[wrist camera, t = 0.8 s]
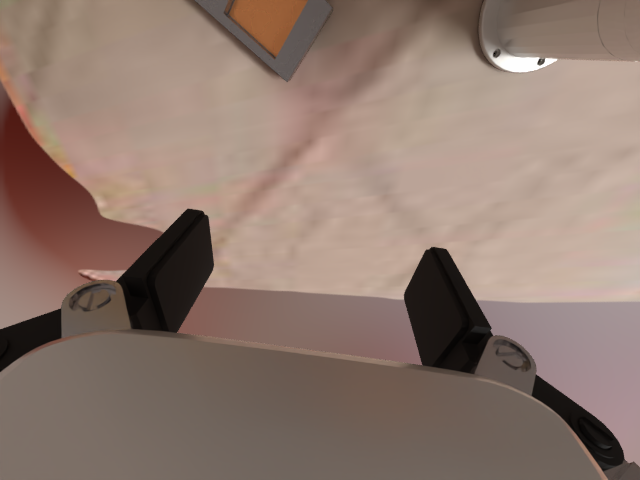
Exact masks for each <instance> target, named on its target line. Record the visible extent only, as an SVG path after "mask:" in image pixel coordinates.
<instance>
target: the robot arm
mask: <svg viewBox="0 0 640 480" xmlns="http://www.w3.org/2000/svg"><path fill="white" fill-rule="evenodd" d="M478 33H479V40H480V45H481V48H482V51H483V54H484V55H485V57H486V58H487V60H488V61H489V62H490V63H491V64H492V65H493V66H494V67H496V68H498V69H500V70H502V71H506V72H511V73H526V72H532V71H535V70H538V69H541V68H544V67H546V66H548V65H549V64H551V63H553V62H555V61H557V60H558V59H572V60H601V61H631V62H637V61H639V62H640V0H484V1H483V4H482V8H481V13H480V18H479V32H478ZM494 51H495V55H494V56H493V52H494ZM538 60H539V61H538ZM537 61H538V63H537ZM213 267H214V261H213V252H212V243H211V235H210V226H209V218H208V216H207V215H205V214H204V212H203V211H200V210H194V209H187V210H186V211H185V212H184V213H183V214H182V215H181V216H180V217H179V218H178V219H177V220H176V221H175V222H174V223H173V224H172V225H171V226H170V227H169V228H168V229H167V230H166V231H165V232H164V233H163V234H162V235H161V236H160V237H159V238H158V239H157V240H156V241H155V242H154V243H153V244H152V245H151V246H150V247H149V248H148V249H147V250H146V251H145V252H144V253H143V254H142V255H141V256H140V257H139V258H138V259H137V260H136V262H135V263H134V264H133V265H132V266H131V267H130V268H129V269H128V270H127V271H126V272H125V273H124V274H123V275H122V276H121V277H120V278H119V279H118V280H117V281H116V282H115V281H111V280H98V281H92V282H89V283H86V284H83V285H81V286H79V287H77V288H76V289H74V290H73V291H72V292H70V293H69V294H68V295H67V296H66V297H65V298H64V300H63V302H62V306H61V309H58V310H55V311H53V312H50V313H47V314H44V315H41V316H38V317H35V318H32V319H29V320H26V321H23V322H21V323H18V324H15V325H12V326H9V327H6V328H3V329H0V480H640V467H639V466H638V465H637V464H636V463H635V462H631V463H627V461H626V460H625V459H624V454H623V450H622V448H621V446H620V444H619V442H618V440H617V439H616V438H615V436H614V435H613V433H612V432H611V431H610V430H609V429H608V428H607V427H606V426H605V425H604V424H603V423H602V422H601V421H599V420H598V419H597V418H596V417H595V416H593V415H592V414H590V413H589V412H587V411H586V410H585V409H583V408H582V407H581V406H579V405H578V404H577V403H575V402H574V401H572V400H571V399H570V398H568V397H567V396H565V395H564V394H563V393H561V392H560V391H558V390H557V389H555V388H554V387H553V386H551V385H550V384H549V383H547V382H546V381H544V380H543V379H542V378H540V377H539V376H537V375H536V364H535V362H534V359H533V358H532V357H531V355H530V354H529V353H528V352H527V351H526V350H525V349H524V348H523V347H522V346H521V345H520V344H518V343H517V342H515V341H513V340H512V339H510V338H507V337H504V336H497V335H495V336H493V335H492V333H491V331H490V330H491V326H490V325H489V323H488V321H487V319H486V318H485V316H484V314H483V312H482V310H481V309H480V307H479V305H478V303H477V302H476V300H475V298H474V296H473V295H472V293H471V291H470V289H469V288H468V286H467V284H466V282H465V280H464V279H463V277H462V275H461V273H460V272H459V270H458V268H457V266H456V265H455V263H454V261H453V259H452V258H451V256H450V254H449V252H448V251H447V249H443V248H436V247H431V248H430V249H429V250H426V251H425V253H424V255H423V257H422V259H421V261H420V263H419V265H418V267H417V269H416V271H415V273H414V275H413V277H412V279H411V281H410V283H409V285H408V287H407V289H406V291H405V294H404V300H405V304H406V307H407V311H408V315H409V318H410V322H411V326H412V329H413V333H414V336H415V340H416V344H417V347H418V350H419V355H420V358H421V362H422V365H423V366H422V365H416V364H409V363H402V362H395V361H387V360H381V359H373V358H366V357H359V356H352V355H344V354H337V353H330V352H322V351H315V350H308V349H300V348H292V347H285V346H277V345H270V344H263V343H255V342H247V341H239V340H232V339H223V338H216V337H208V336H200V335H191V334H182V333H177V332H178V330H179V328H180V327H181V325H182V323H183V321H184V320H185V318H186V316H187V314H188V313H189V311H190V309H191V307H192V306H193V304H194V302H195V300H196V299H197V297H198V295H199V294H200V292H201V290H202V288H203V287H204V285H205V283H206V281H207V280H208V278H209V276H210V274H211V273H212V271H213Z"/></svg>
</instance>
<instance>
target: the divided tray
mask: <svg viewBox="0 0 640 480" xmlns="http://www.w3.org/2000/svg"><path fill="white" fill-rule="evenodd" d="M195 1H196V2H197V3H198V4H199V5H200V6H202V7H203V8H204V9H205V10H206V11H207V12H208V13H209V14H211V15H212V16H213V17H214V18H215V19H216V20H217V21H219V22H220V23H221V24H222V25H223V26H224V27H225V28H226V29H228V30H229V31H230V32H231V33H232V34H233V35H234V36H235V37H237V38H238V39H239V40H240V41H241V42H242V43H243V44H245V45H246V46H247V47H248V48H249V49H250V50H251V51H252V52H254V53H255V54H256V55H257V56H258V57H259V58H260V59H261V60H263V61H264V62H265V63H266V64H267V65H268V66H269V67H271V68H272V69H273V70H274V71H275V72H276V73H277V74H278V75H280V76H281V77H282V78H283V79H284V80H285V81H286V82H288V81H290V80H291V78H292V77H293V75H294V73H295V72H296V70H297V68H298V67H299V65H300V64H301V62H302V60H303V59H304V57H305V55H306V54H307V52H308V51H309V49H310V47H311V46H312V44H313V42H314V41H315V39H316V38H317V36H318V34H319V33H320V31H321V29H322V28H323V26H324V24H325V23H326V21H327V20H328V18H329V16H330V15H331V13H332V11H333V8H332V7H331V6H330V5H329V4H328V2H327V1H326V0H195Z"/></svg>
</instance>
